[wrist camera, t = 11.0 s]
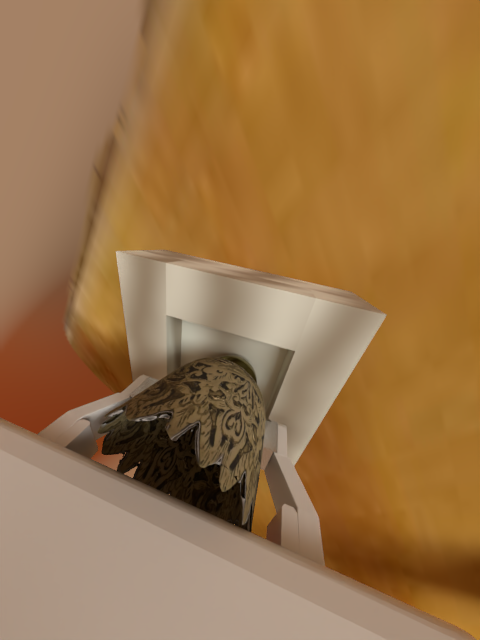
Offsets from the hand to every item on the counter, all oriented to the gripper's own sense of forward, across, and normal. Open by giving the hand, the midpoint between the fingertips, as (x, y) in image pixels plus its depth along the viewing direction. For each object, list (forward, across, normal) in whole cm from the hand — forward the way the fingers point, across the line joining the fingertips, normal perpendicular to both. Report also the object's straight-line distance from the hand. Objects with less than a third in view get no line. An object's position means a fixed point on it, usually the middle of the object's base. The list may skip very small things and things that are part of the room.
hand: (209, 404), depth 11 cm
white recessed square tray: (+7, 0, 0) cm, 7 cm away
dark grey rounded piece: (+4, +1, 0) cm, 4 cm away
